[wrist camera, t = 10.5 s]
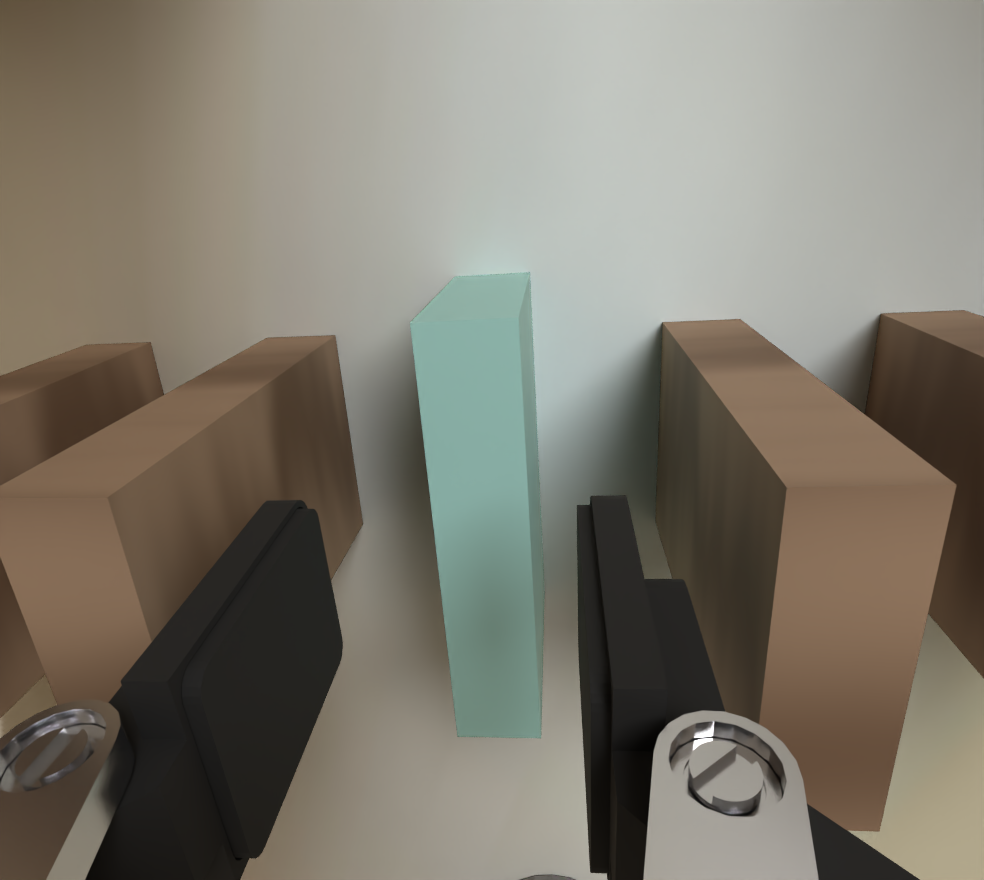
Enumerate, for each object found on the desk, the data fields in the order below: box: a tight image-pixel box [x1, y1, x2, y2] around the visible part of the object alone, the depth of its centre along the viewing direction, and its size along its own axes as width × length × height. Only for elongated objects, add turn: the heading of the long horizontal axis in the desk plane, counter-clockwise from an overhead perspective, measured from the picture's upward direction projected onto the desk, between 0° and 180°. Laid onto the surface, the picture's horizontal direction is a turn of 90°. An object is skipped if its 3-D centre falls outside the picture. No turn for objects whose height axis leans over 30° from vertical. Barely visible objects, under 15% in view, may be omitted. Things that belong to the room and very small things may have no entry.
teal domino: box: [410, 272, 545, 738], centre depth 17 cm, size 6×2×10 cm
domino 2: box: [0, 335, 363, 705], centre depth 15 cm, size 6×2×10 cm, turn 3°
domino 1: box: [0, 342, 164, 718], centre depth 16 cm, size 6×2×10 cm, turn 3°
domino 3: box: [655, 319, 956, 831], centre depth 14 cm, size 6×2×10 cm, turn 4°
